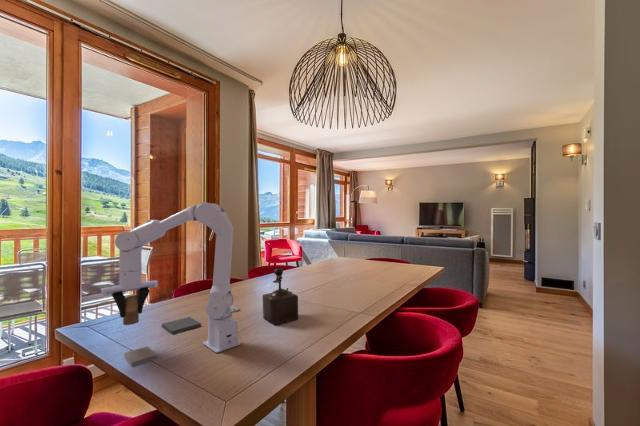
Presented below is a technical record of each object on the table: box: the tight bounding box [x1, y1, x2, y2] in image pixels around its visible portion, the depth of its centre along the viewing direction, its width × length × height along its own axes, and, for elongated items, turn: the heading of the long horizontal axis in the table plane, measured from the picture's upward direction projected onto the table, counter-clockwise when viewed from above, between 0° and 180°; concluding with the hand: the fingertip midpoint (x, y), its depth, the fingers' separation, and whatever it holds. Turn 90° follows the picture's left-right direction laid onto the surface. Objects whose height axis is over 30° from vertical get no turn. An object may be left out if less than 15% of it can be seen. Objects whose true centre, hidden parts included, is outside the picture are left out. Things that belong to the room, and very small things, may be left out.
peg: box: [122, 294, 140, 326], centre depth 90 cm, size 4×4×8 cm
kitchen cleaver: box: [230, 304, 241, 313], centre depth 132 cm, size 24×1×10 cm
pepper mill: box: [262, 267, 299, 327], centre depth 115 cm, size 16×11×18 cm
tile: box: [123, 346, 157, 367], centre depth 84 cm, size 2×6×8 cm
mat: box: [161, 316, 202, 335], centre depth 107 cm, size 10×10×1 cm
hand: (131, 314), depth 90 cm, fingers closed on peg, 4 cm apart
